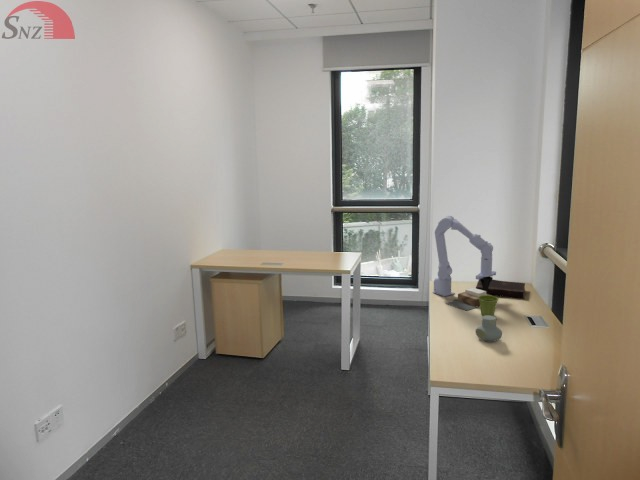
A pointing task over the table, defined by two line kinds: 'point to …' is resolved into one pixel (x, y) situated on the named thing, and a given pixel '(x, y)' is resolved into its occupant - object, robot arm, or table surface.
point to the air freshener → (488, 329)
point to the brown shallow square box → (469, 299)
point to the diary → (504, 289)
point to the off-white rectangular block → (475, 292)
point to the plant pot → (487, 304)
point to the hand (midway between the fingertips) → (485, 289)
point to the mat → (461, 305)
